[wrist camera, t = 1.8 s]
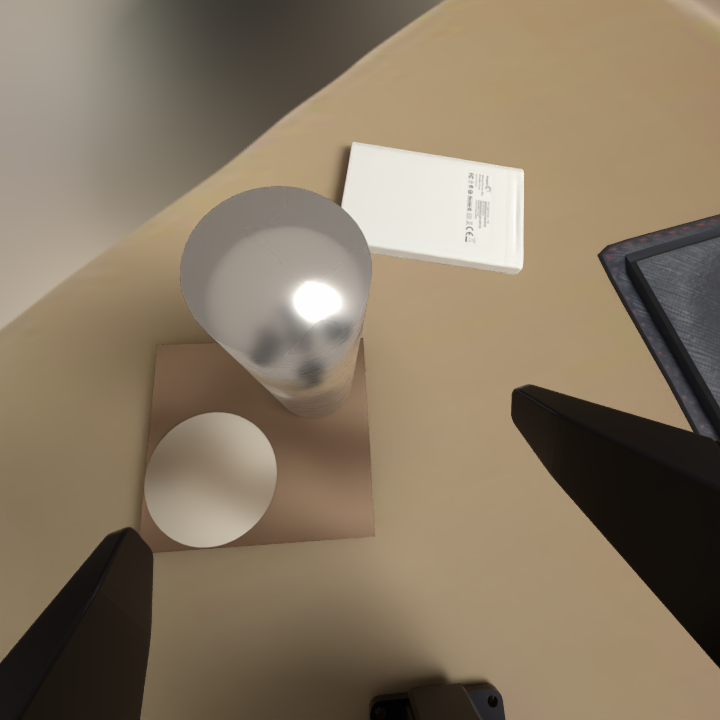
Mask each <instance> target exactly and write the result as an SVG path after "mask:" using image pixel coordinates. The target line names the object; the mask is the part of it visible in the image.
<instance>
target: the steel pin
mask: <svg viewBox="0 0 720 720" xmlns="http://www.w3.org/2000/svg"><path fill="white" fill-rule="evenodd" d="M371 277H372V261H371V255H370V250H369V247H368V244H367V241H366V239H365V237H364V234H363V232H362V231H361V229H360V228H359V226H358V224H357V223H356V222H355V221H354V219H353V218H352V217H351V216H350V215H349V214H348V213H347V212H346V211H345V210H344V209H343V208H341V207H340V206H339V205H337V204H336V203H334V202H333V201H331V200H330V199H328V198H326V197H324V196H322V195H319V194H317V193H315V192H312V191H308V190H305V189H301V188H295V187H286V186H272V187H262V188H256V189H252V190H249V191H245V192H242V193H240V194H237V195H235V196H232V197H231V198H229V199H227V200H225V201H223V202H222V203H220V204H219V205H217V206H216V207H215V208H213V209H212V210H211V211H210V212H209V213H208V214H206V215H205V216H204V217H203V218H202V220H201V221H200V222H199V223H198V224H197V226H196V227H195V229H194V230H193V232H192V233H191V235H190V237H189V239H188V241H187V243H186V245H185V248H184V251H183V255H182V260H181V266H180V281H181V288H182V292H183V296H184V299H185V302H186V304H187V306H188V308H189V310H190V312H191V314H192V315H193V316H194V318H195V319H196V321H197V322H198V323H199V324H200V325H201V327H202V328H203V329H204V330H205V331H206V332H207V333H208V334H209V335H210V336H211V337H212V338H214V339H215V340H216V341H217V342H218V343H219V344H220V345H221V346H222V347H223V348H224V349H225V350H226V351H227V352H228V353H229V354H230V355H231V356H232V357H233V358H235V359H236V360H237V361H238V362H239V363H240V364H241V365H242V366H243V367H244V368H245V369H246V370H247V371H248V372H249V373H250V374H251V375H252V376H253V377H254V378H256V379H257V380H258V381H259V382H260V383H261V384H262V385H263V386H264V387H265V388H266V389H267V390H268V391H269V392H270V393H271V394H272V395H273V396H274V397H275V398H277V399H278V400H279V401H280V402H281V403H282V404H283V405H284V406H285V407H286V408H287V409H288V410H289V411H291V412H292V413H294V414H296V415H298V416H300V417H304V418H310V419H316V418H322V417H326V416H328V415H331V414H332V413H334V412H336V411H337V410H338V409H339V408H340V407H341V406H342V405H343V404H344V403H345V401H346V400H347V398H348V396H349V394H350V391H351V386H352V381H353V375H354V370H355V365H356V359H357V354H358V349H359V343H360V338H361V332H362V327H363V322H364V316H365V311H366V305H367V300H368V295H369V289H370V284H371Z"/></svg>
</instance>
